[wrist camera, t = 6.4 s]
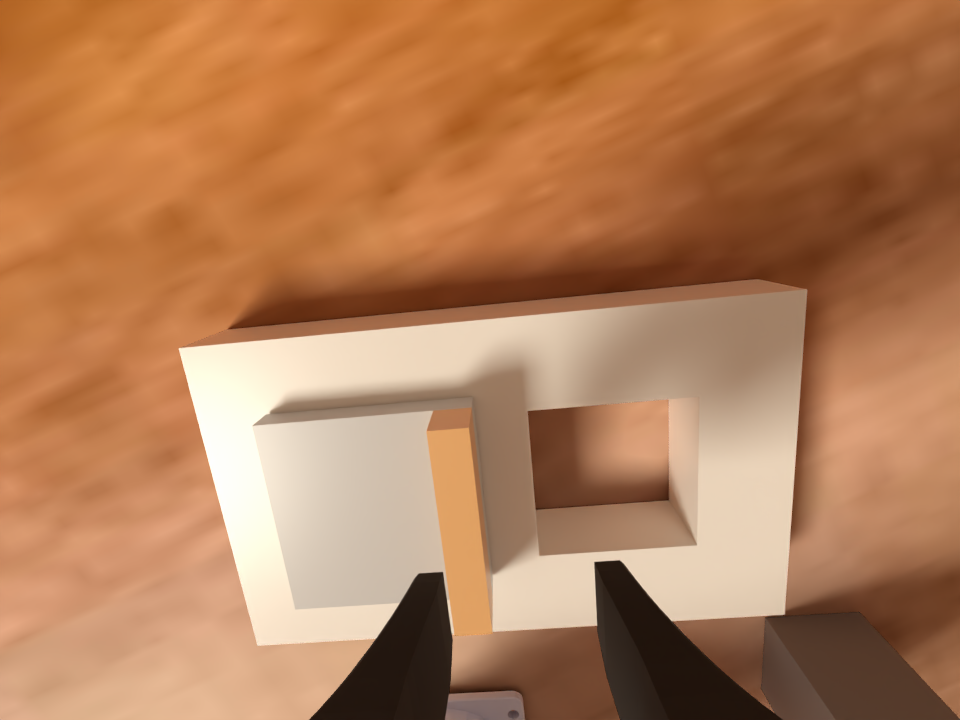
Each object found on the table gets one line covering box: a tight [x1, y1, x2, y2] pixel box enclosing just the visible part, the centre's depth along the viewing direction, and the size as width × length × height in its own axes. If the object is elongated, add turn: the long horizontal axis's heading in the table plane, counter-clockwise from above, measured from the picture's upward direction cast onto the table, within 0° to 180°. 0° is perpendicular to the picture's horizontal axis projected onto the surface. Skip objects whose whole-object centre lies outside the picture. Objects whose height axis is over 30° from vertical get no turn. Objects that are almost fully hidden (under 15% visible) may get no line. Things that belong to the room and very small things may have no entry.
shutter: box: [252, 397, 493, 636], centre depth 16 cm, size 7×7×3 cm
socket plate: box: [179, 279, 807, 646], centre depth 19 cm, size 12×20×3 cm, turn 96°
